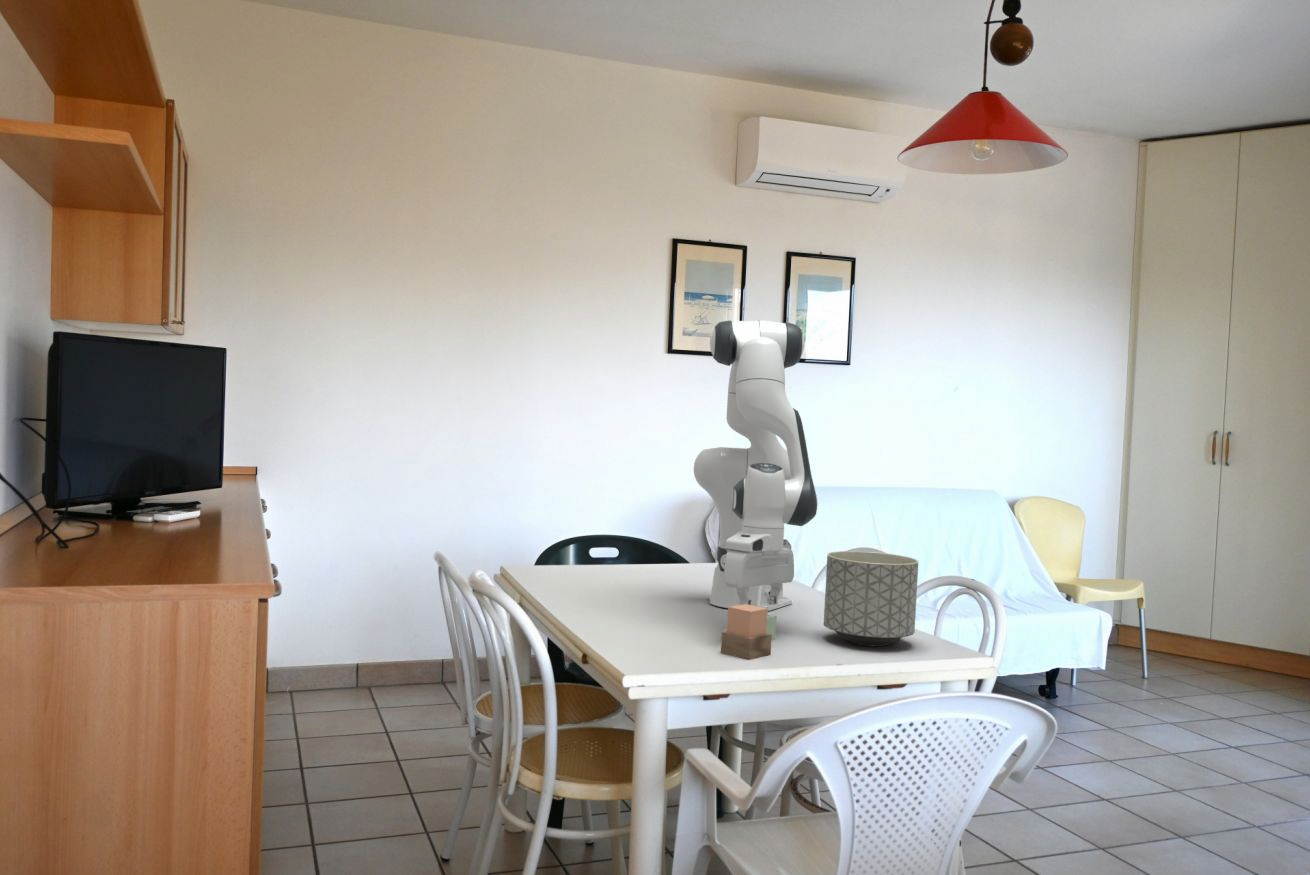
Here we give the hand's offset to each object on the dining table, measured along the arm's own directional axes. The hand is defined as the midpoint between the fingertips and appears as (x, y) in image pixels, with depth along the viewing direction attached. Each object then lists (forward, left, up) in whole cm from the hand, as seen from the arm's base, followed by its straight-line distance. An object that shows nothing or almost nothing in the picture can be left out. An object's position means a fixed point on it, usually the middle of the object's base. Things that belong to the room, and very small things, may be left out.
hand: (758, 606), depth 210 cm
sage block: (-1, 0, -7) cm, 7 cm away
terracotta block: (+12, +6, -3) cm, 14 cm away
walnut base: (+12, +7, -7) cm, 16 cm away
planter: (-19, +16, -7) cm, 25 cm away
